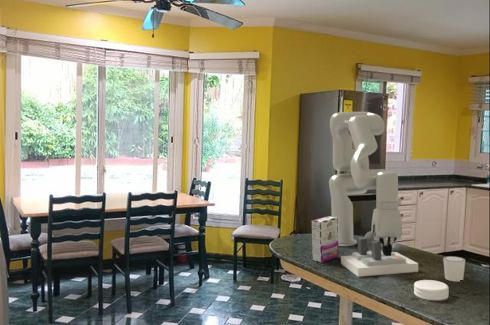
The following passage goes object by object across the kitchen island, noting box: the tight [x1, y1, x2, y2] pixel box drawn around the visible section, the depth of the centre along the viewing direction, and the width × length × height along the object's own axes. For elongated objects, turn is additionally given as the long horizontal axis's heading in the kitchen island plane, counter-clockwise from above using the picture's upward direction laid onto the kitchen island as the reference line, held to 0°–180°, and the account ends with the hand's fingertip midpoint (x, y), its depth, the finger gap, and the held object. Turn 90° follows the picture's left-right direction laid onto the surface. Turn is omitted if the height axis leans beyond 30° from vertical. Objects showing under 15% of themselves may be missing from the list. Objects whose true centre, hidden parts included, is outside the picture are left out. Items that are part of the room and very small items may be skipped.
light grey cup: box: [443, 255, 466, 282], centre depth 158 cm, size 7×7×7 cm
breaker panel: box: [340, 236, 419, 277], centre depth 173 cm, size 16×23×10 cm
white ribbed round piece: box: [413, 279, 450, 302], centre depth 144 cm, size 10×10×4 cm
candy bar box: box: [311, 215, 340, 263], centre depth 186 cm, size 11×5×16 cm, turn 131°
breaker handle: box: [372, 241, 382, 260], centre depth 168 cm, size 3×2×6 cm
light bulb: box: [363, 230, 376, 252], centre depth 189 cm, size 6×6×10 cm
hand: (387, 255), depth 169 cm, fingers closed
